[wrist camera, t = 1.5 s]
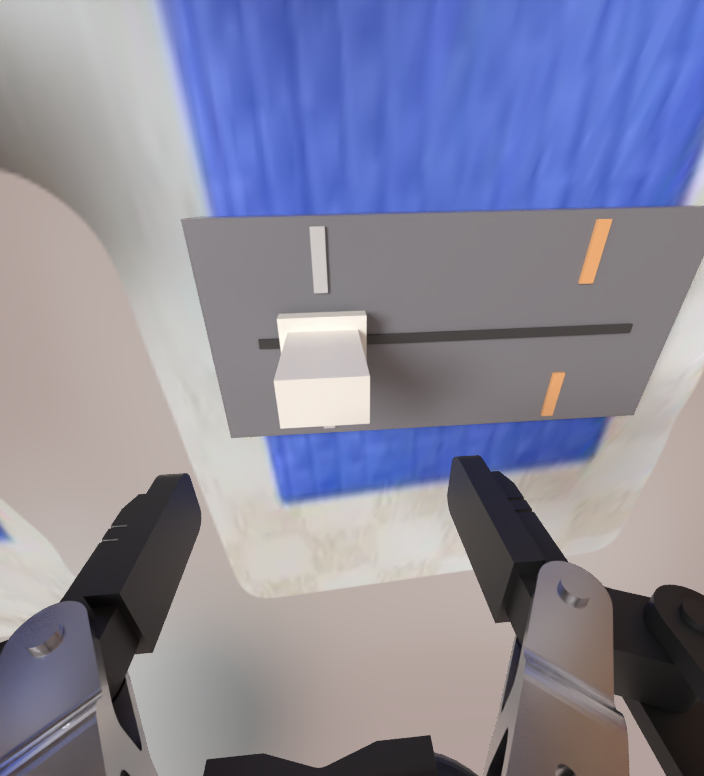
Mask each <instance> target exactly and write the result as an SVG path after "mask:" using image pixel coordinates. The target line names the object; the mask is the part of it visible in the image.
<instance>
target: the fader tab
mask: <svg viewBox="0 0 704 776" xmlns="http://www.w3.org/2000/svg"><path fill="white" fill-rule="evenodd" d="M277 325H278V333H279V341H280V349H281V356H280V360H279V363H278V367H277V370H276V374H275V377H274V387H275V394H276V401H277V408H278V415H279V422H280V429H283V428H301V427H319V426H337V425H355V424H370V374H369V370H368V366H367V315H366V313H365V310H364V311H339V312H313V313H287V314H279V315H278V317H277Z"/></svg>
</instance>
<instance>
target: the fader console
mask: <svg viewBox="0 0 704 776" xmlns="http://www.w3.org/2000/svg"><path fill="white" fill-rule="evenodd" d="M181 222H182V226H183V230H184V235H185V239H186V243H187V248H188V252H189V257H190V261H191V265H192V270H193V274H194V278H195V283H196V287H197V291H198V296H199V300H200V304H201V309H202V313H203V317H204V322H205V326H206V330H207V335H208V339H209V343H210V348H211V352H212V356H213V361H214V365H215V369H216V374H217V378H218V382H219V387H220V391H221V395H222V400H223V404H224V408H225V413H226V417H227V421H228V426H229V430H230V434H231V438H240V437H257V436H275V435H292V434H310V433H327V432H345V431H362V430H380V429H397V428H415V427H432V426H450V425H467V424H485V423H502V422H520V421H537V420H555V419H572V418H590V417H607V416H625V415H634V413H635V410H636V408H637V406H638V403H639V401H640V399H641V397H642V394H643V392H644V390H645V388H646V385H647V383H648V381H649V378H650V376H651V374H652V372H653V369H654V367H655V365H656V363H657V360H658V358H659V356H660V353H661V351H662V349H663V347H664V344H665V342H666V340H667V338H668V335H669V333H670V331H671V328H672V326H673V324H674V322H675V319H676V317H677V315H678V313H679V310H680V308H681V306H682V303H683V301H684V299H685V297H686V294H687V292H688V290H689V288H690V285H691V283H692V281H693V278H694V276H695V274H696V272H697V269H698V267H699V265H700V263H701V260H702V258H703V256H704V206H639V207H598V208H556V209H514V210H472V211H430V212H388V213H346V214H304V215H262V216H221V217H195V218H187V219H181ZM364 310H365V313H366V315H367V366H368V370H369V374H370V424H355V425H337V426H319V427H301V428H283V429H280V422H279V415H278V408H277V401H276V394H275V387H274V377H275V374H276V370H277V367H278V363H279V360H280V356H281V349H280V341H279V333H278V325H277V317H278V315H279V314H287V313H313V312H339V311H364Z"/></svg>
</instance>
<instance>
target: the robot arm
mask: <svg viewBox="0 0 704 776" xmlns="http://www.w3.org/2000/svg"><path fill="white" fill-rule="evenodd" d="M447 498H448V506H449V511H450V514H451V516H452V519H453V521H454V524H455V526H456V529H457V531H458V533H459V536H460V538H461V541H462V543H463V546H464V548H465V550H466V553H467V555H468V558H469V560H470V563H471V565H472V567H473V570H474V572H475V575H476V577H477V579H478V582H479V584H480V587H481V589H482V592H483V594H484V596H485V599H486V601H487V604H488V606H489V609H490V611H491V613H492V616H493V618H494V621H495V623H501V622H511V625H512V627H513V629H514V631H515V633H516V636H515V639H514V643H513V647H512V652H511V657H510V661H509V666H508V671H507V675H506V681H505V685H504V689H503V694H502V699H501V704H500V708H499V713H498V717H497V722H496V725H495V729H494V732H493V736H492V739H491V743H490V747H489V751H488V756H487V760H486V764H485V768H484V773H483V776H629V753H628V752H629V751H628V733H627V726H626V722H625V719H624V716H623V714H622V713H620V712H619V711H617V710H616V708H615V704H614V694H615V695H619V696H622V697H623V699H624V701H625V703H626V704H627V706H628V708H629V710H630V711H631V713H632V715H633V717H634V718H635V720H636V722H637V724H638V726H639V728H640V729H641V731H642V733H643V735H644V737H645V738H646V740H647V742H648V744H649V745H650V747H651V749H652V751H653V752H654V754H655V756H656V758H657V760H658V761H659V763H660V765H661V767H662V769H663V770H664V772H665V774H666V776H704V595H702V594H700V593H698V592H696V591H694V590H691V589H688V588H685V587H682V586H677V585H663V586H660V587H659V588H657V589H656V591H655V592H654V594H653V595H652V597H651V598H650V597H646V596H641V595H637V594H632V593H628V592H623V591H619V590H614V589H611V588H607V587H604V586H603V585H602V584H601V582H599V580H598V579H597V578H595V577H594V576H593V575H592V574H591V573H589V572H588V571H586V570H585V569H583V568H581V567H579V566H577V565H575V564H572V563H569V562H568V561H567V559H566V558H565V557H564V555H563V554H562V552H561V551H560V549H559V548H558V546H557V545H556V544H555V542H554V541H553V539H552V538H551V536H550V535H549V533H548V532H547V530H546V529H545V528H544V526H543V525H542V523H541V522H540V520H539V519H538V517H537V516H536V514H535V513H534V512H532V509H531V507H530V506H529V504H528V503H527V501H526V500H524V497H523V496H522V494H521V493H520V491H519V490H518V488H517V487H516V485H515V484H514V483H513V482H512V481H511V480H510V479H508V478H507V477H506V476H504V475H503V474H502V473H501V472H499V471H494V472H491V471H490V470H489V468H488V467H487V465H486V463H485V462H484V460H483V459H482V457H481V456H479V455H476V456H460V457H454V458H453V461H452V466H451V473H450V480H449V487H448V494H447ZM200 525H201V510H200V507H199V504H198V500H197V497H196V494H195V491H194V488H193V485H192V481H191V478H190V476H189V475H188V474H187V473H183V474H167V475H159V476H158V477H157V478H156V479H155V480H154V482H153V484H152V485H151V487H150V489H149V490H148V492H147V493H146V494H139V495H138V496H137V497H136V498H134V499H133V500H132V501H131V502H130V503H128V504H127V505H126V506H125V507H124V508H123V509H122V510H121V512H120V513H119V515H118V516H117V518H116V519H115V520H114V522H113V523H112V525H111V529H108V531H107V532H106V534H105V535H104V537H103V539H102V542H101V543H99V545H98V546H97V548H96V549H95V551H94V552H93V553H92V555H91V557H90V558H89V560H88V561H87V562H86V564H85V565H84V567H83V568H82V570H81V571H80V573H79V574H78V576H77V577H76V579H75V580H74V582H73V583H72V585H71V586H70V588H69V589H68V591H67V592H66V594H65V595H64V597H63V598H62V600H61V601H60V602H59V603H57V604H54V605H51V606H49V607H47V608H45V609H43V610H41V611H40V612H38V613H36V614H35V615H34V616H32V617H31V618H29V619H28V620H27V621H26V622H25V623H23V624H22V625H21V626H20V627H19V628H18V629H17V630H16V631H15V632H14V634H13V635H12V636H11V637H10V638H9V640H6V641H4V642H1V643H0V776H158V774H157V772H156V769H155V767H154V765H153V763H152V760H151V757H150V754H149V751H148V747H147V743H146V739H145V735H144V731H143V727H142V723H141V719H140V715H139V711H138V708H137V703H136V700H135V695H134V692H133V688H132V684H131V680H130V676H129V673H128V672H127V671H128V668H129V666H130V663H131V661H132V659H133V656H134V654H141V653H142V654H143V653H152V652H153V650H154V648H155V645H156V643H157V640H158V637H159V635H160V632H161V630H162V627H163V624H164V621H165V619H166V617H167V614H168V611H169V609H170V606H171V603H172V600H173V598H174V596H175V593H176V590H177V588H178V585H179V583H180V580H181V577H182V575H183V572H184V570H185V567H186V564H187V561H188V559H189V556H190V554H191V551H192V549H193V546H194V543H195V541H196V538H197V536H198V533H199V530H200ZM203 776H478V775H477V774H475V773H474V772H473V771H472V770H470V769H469V768H467V767H465V766H464V765H462V764H461V763H459V762H457V761H456V760H453V759H451V758H449V757H447V756H444V755H442V754H438V753H435V752H434V751H433V746H432V741H431V736H430V735H428V736H419V737H410V738H401V739H391V740H383V741H376V742H374V743H372V744H370V745H368V746H366V747H364V748H362V749H360V750H358V751H356V752H354V753H352V754H350V755H348V756H346V757H344V758H342V759H340V760H338V761H336V762H334V763H332V764H330V765H328V766H325V767H323V768H314V767H311V766H307V765H303V764H299V763H296V762H292V761H289V760H285V759H281V758H278V757H274V756H271V755H267V754H253V755H244V756H235V757H226V758H216V759H208V760H207V761H206V765H205V770H204V775H203Z"/></svg>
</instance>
